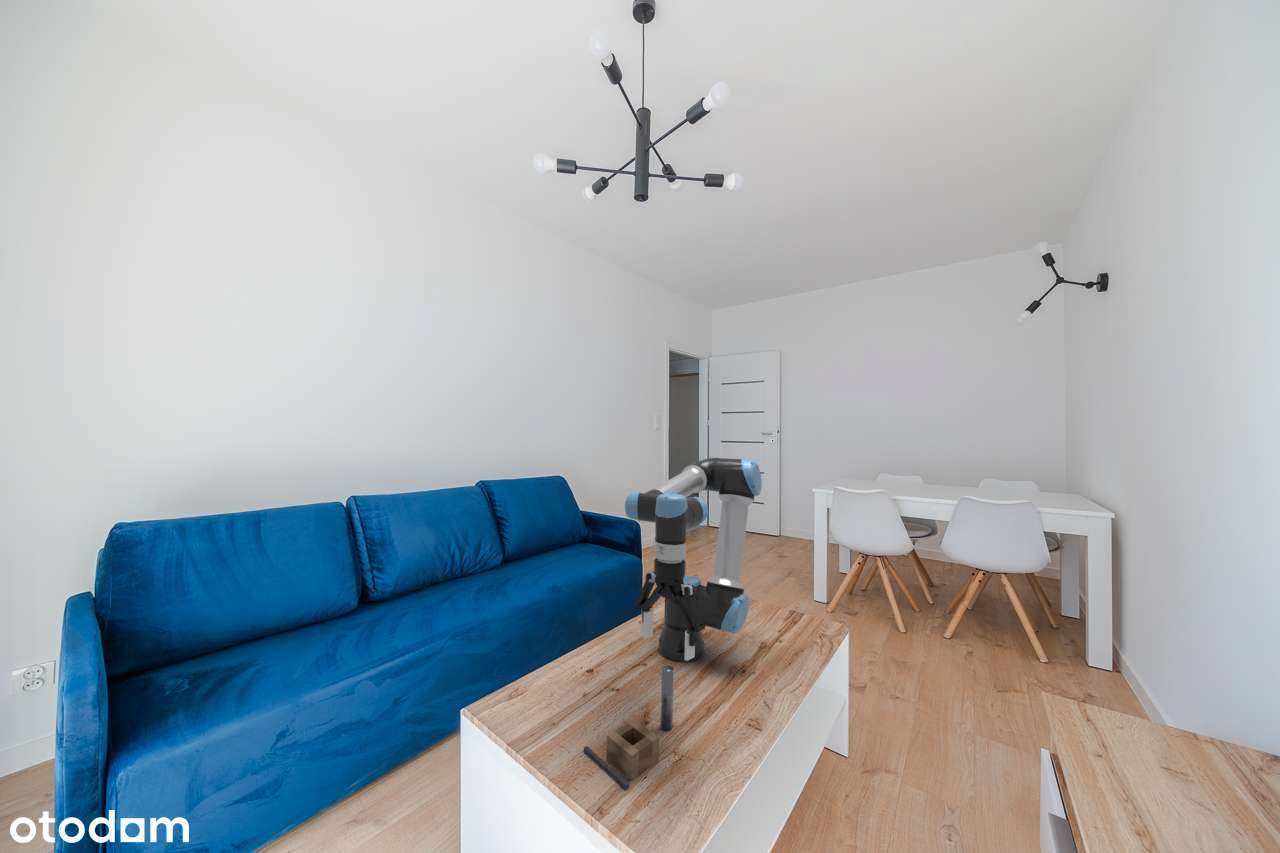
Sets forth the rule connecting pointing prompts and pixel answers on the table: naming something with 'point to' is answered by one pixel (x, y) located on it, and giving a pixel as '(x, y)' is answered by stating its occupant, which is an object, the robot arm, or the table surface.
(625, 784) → the dark grey rod
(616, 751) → the bead block
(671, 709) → the dark grey peg
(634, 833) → the table surface
